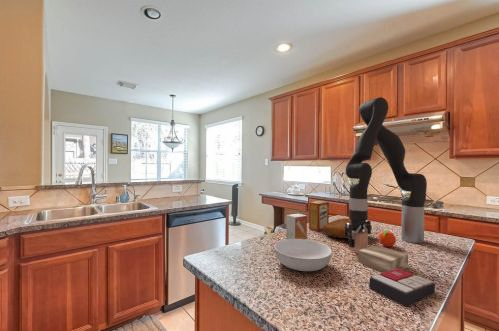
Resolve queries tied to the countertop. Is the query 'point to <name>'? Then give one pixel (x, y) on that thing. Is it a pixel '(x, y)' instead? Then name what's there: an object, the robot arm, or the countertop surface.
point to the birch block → (382, 258)
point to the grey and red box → (402, 286)
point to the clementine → (387, 238)
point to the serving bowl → (302, 254)
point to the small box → (296, 226)
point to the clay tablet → (337, 228)
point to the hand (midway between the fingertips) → (358, 245)
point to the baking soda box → (318, 215)
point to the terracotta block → (360, 242)
